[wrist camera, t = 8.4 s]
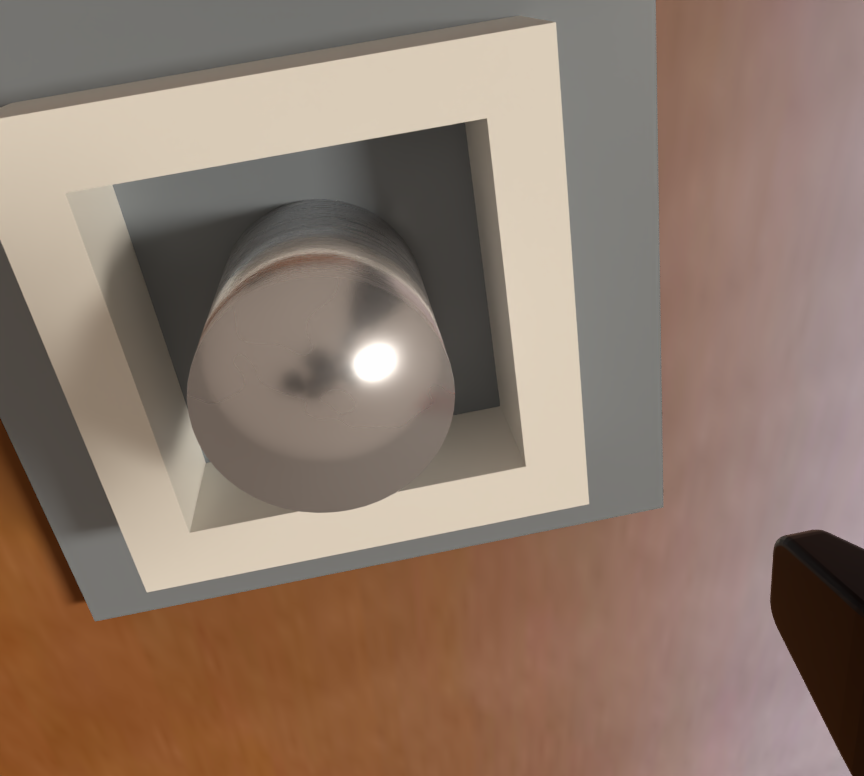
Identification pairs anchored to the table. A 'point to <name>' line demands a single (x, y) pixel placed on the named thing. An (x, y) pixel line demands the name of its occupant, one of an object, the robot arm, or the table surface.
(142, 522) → the socket
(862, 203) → the table surface
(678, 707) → the table surface
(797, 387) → the table surface
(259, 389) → the grey cylinder
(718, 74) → the table surface
